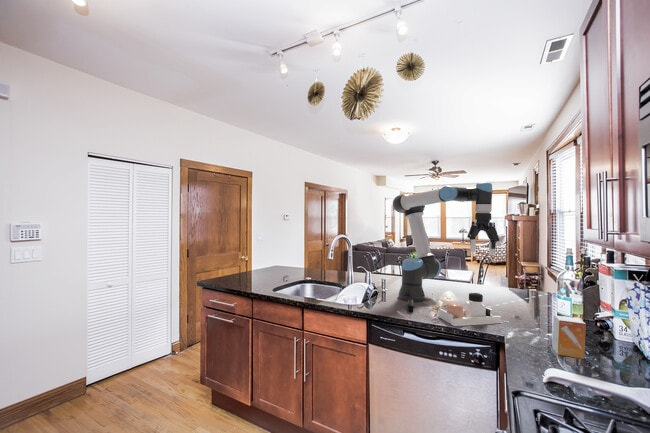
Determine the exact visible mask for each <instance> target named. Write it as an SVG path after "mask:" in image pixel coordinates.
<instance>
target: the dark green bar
mask: <svg viewBox="0 0 650 433" xmlns="http://www.w3.org/2000/svg"><path fill="white" fill-rule="evenodd" d="M407 312H408V313H414V302H413V299H409V300H408V301H407Z"/></svg>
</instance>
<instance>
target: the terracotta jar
mask: <svg viewBox="0 0 650 433" xmlns="http://www.w3.org/2000/svg"><path fill="white" fill-rule="evenodd" d="M463 310H464V305H463V304H461V303H457V302H448V303H446V311H447V312H448V313H450V314H452V315H453V319H454V318H463Z"/></svg>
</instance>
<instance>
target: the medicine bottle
mask: <svg viewBox="0 0 650 433" xmlns="http://www.w3.org/2000/svg"><path fill="white" fill-rule="evenodd" d="M483 301H484V296H483V294H481V293H479V292H469V293H468V300H465V303H464V304H465V305H464V306H465V307H464V310H465V316H466V317H467V318H470V317H486V307H487V306H486V305H485V304H483Z"/></svg>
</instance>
